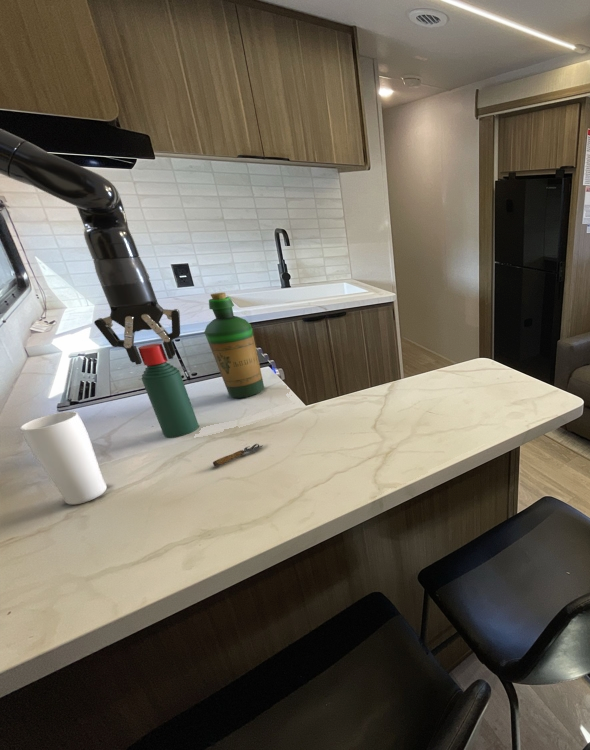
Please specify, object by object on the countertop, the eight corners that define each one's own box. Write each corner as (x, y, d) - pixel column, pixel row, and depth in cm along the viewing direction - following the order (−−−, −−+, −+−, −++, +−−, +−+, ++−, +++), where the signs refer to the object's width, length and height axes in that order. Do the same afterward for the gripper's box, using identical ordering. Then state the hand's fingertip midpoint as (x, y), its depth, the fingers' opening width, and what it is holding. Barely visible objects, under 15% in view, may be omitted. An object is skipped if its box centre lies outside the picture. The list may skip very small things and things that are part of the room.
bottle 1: (162, 440, 89) (128, 354, 82) (165, 429, 94) (133, 348, 87) (198, 431, 92) (168, 348, 85) (199, 421, 97) (171, 342, 90)
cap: (142, 367, 85) (136, 349, 83) (145, 362, 88) (139, 345, 86) (166, 362, 87) (160, 346, 85) (168, 358, 90) (162, 342, 88)
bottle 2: (226, 404, 107) (192, 298, 97) (224, 392, 115) (192, 294, 105) (271, 393, 112) (243, 292, 102) (266, 383, 120) (239, 289, 111)
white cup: (100, 481, 75) (65, 409, 69) (121, 488, 72) (87, 413, 67) (52, 504, 69) (9, 426, 63) (73, 512, 66) (31, 432, 61)
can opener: (215, 468, 77) (213, 462, 76) (211, 464, 78) (210, 458, 78) (265, 448, 83) (264, 443, 83) (261, 444, 84) (259, 439, 84)
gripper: (71, 287, 75) (108, 373, 81) (167, 278, 82) (194, 357, 88) (82, 284, 80) (116, 363, 86) (171, 275, 88) (196, 350, 94)
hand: (155, 360), depth 87 cm, fingers open, 5 cm apart
